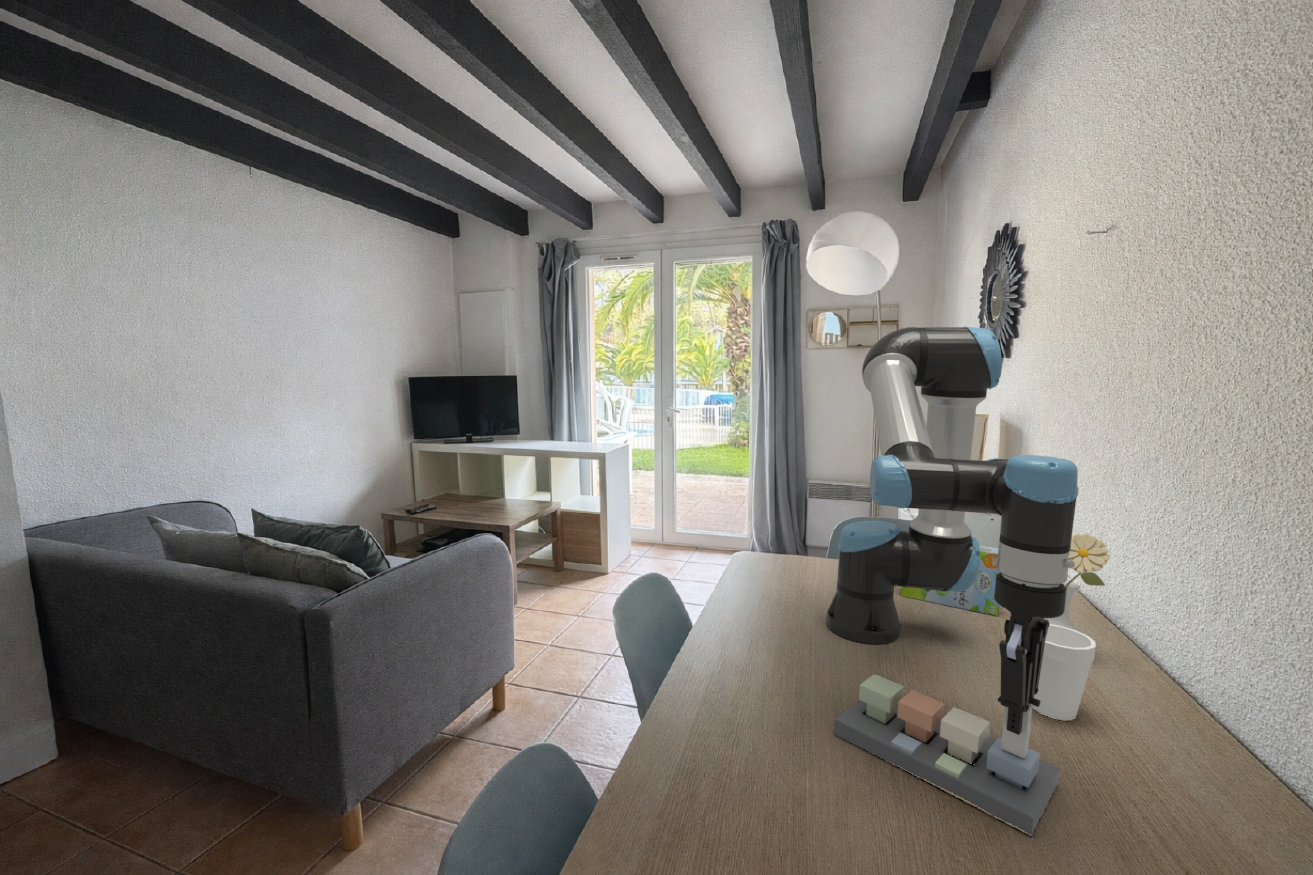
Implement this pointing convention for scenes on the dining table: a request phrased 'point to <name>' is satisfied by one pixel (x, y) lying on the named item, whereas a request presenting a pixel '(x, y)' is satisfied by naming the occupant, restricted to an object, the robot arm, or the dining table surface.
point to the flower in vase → (1082, 570)
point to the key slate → (1013, 765)
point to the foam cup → (1064, 672)
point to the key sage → (880, 697)
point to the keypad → (950, 767)
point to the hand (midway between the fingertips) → (1014, 750)
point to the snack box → (973, 597)
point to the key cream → (964, 734)
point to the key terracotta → (920, 714)
